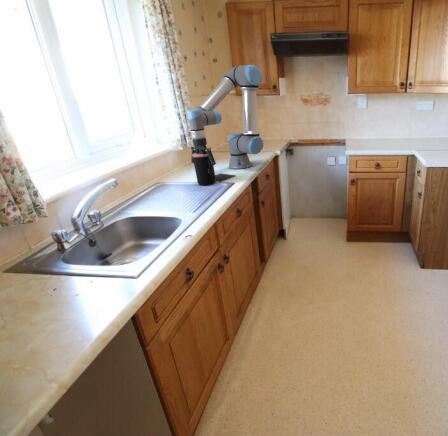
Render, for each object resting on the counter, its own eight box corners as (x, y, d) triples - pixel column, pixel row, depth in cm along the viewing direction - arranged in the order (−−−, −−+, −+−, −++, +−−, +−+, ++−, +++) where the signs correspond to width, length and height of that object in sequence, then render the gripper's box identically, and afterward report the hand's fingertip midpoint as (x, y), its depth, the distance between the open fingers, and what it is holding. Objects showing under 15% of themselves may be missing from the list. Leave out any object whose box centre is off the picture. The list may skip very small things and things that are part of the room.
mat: (220, 173, 213) (220, 173, 213) (235, 175, 207) (235, 175, 206) (205, 179, 203) (205, 178, 202) (221, 181, 196) (220, 181, 196)
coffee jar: (213, 185, 189) (208, 155, 182) (195, 186, 190) (189, 156, 182) (218, 180, 199) (213, 151, 192) (201, 180, 199) (196, 152, 192)
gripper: (180, 138, 186) (187, 175, 195) (208, 140, 175) (215, 179, 184) (190, 135, 192) (197, 171, 201) (218, 137, 181) (224, 175, 190)
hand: (205, 175), depth 192 cm, fingers closed on coffee jar, 11 cm apart
